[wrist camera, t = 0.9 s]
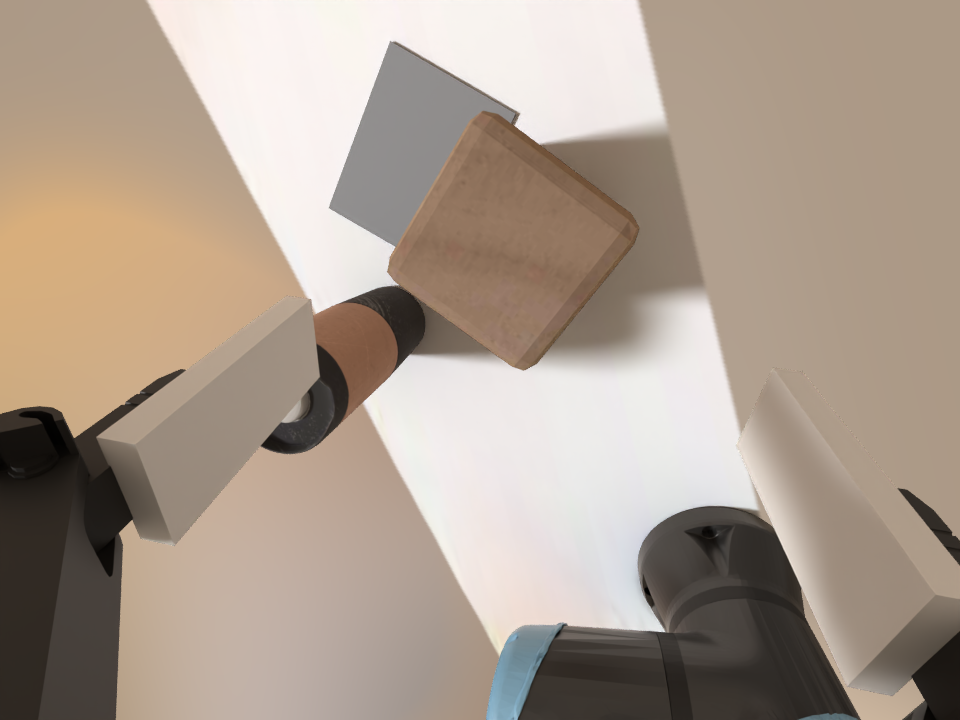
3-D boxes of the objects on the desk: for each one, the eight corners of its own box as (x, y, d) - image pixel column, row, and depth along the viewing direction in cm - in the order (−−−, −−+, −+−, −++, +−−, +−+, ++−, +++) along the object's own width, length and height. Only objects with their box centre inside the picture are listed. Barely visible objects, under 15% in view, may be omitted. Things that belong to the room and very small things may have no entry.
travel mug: (342, 321, 49) (200, 400, 30) (385, 267, 46) (257, 318, 28) (397, 370, 50) (291, 477, 31) (443, 320, 47) (355, 405, 28)
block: (523, 140, 40) (476, 97, 21) (617, 211, 40) (651, 228, 22) (459, 239, 44) (374, 274, 25) (546, 303, 44) (524, 383, 26)
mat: (515, 113, 39) (515, 113, 39) (438, 270, 45) (437, 271, 45) (391, 42, 39) (390, 41, 39) (330, 207, 45) (328, 207, 45)
